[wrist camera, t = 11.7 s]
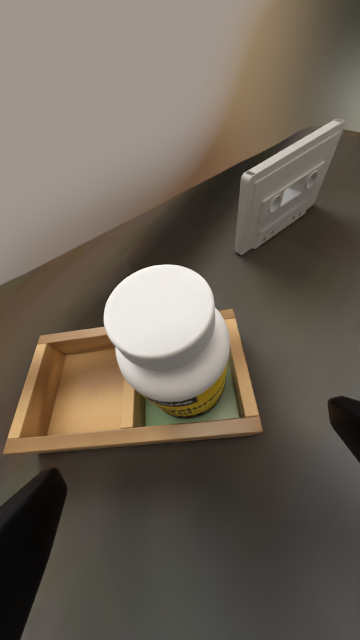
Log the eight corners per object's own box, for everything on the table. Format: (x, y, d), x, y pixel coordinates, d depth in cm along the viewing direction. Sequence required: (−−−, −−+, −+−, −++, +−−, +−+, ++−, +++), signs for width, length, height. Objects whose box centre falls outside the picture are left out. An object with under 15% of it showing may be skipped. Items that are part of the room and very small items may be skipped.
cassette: (243, 259, 22) (254, 180, 16) (230, 250, 23) (235, 173, 17) (317, 206, 25) (353, 119, 18) (303, 200, 26) (333, 116, 19)
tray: (255, 435, 14) (263, 432, 11) (37, 453, 15) (1, 454, 13) (231, 328, 18) (233, 308, 16) (62, 350, 20) (39, 335, 17)
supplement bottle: (164, 433, 14) (90, 411, 6) (144, 362, 17) (74, 278, 9) (238, 401, 14) (268, 337, 6) (206, 336, 17) (196, 233, 9)
